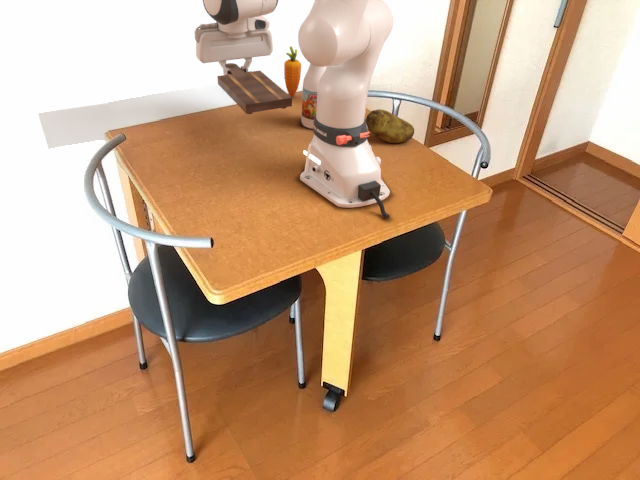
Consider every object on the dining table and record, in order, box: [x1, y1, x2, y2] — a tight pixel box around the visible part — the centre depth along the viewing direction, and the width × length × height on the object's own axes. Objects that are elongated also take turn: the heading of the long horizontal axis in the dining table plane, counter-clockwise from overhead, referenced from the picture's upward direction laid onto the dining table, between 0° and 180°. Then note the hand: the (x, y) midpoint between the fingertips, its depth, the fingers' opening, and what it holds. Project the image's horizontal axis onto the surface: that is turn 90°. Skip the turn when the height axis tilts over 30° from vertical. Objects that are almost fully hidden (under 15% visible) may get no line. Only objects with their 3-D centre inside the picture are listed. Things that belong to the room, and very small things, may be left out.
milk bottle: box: [300, 62, 327, 130], centre depth 148 cm, size 8×8×20 cm
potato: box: [365, 108, 415, 144], centre depth 147 cm, size 8×13×8 cm, turn 73°
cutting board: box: [217, 62, 293, 115], centre depth 143 cm, size 28×12×3 cm, turn 28°
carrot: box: [283, 46, 302, 98], centre depth 164 cm, size 5×5×15 cm
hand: (236, 74), depth 148 cm, fingers closed on cutting board, 3 cm apart
